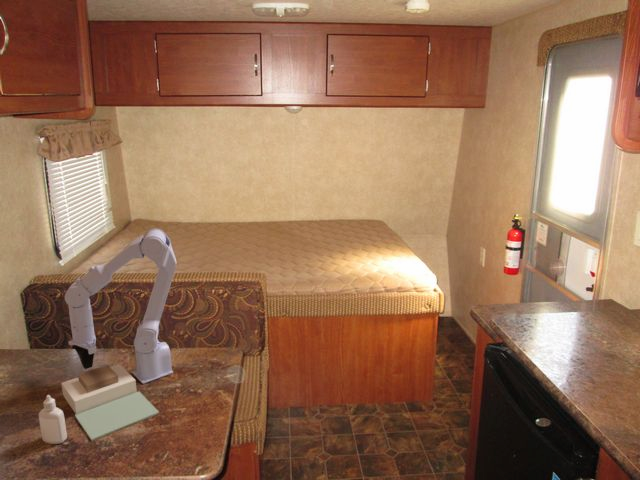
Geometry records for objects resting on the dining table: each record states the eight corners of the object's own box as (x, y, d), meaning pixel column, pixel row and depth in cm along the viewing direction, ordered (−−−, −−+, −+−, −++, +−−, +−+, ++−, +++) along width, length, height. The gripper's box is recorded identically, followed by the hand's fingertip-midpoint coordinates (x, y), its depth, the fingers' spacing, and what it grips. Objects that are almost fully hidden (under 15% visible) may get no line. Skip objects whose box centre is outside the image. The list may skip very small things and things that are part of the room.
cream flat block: (120, 375, 151) (119, 363, 149) (136, 392, 142) (135, 380, 141) (63, 395, 140) (61, 382, 139) (76, 415, 132) (74, 401, 131)
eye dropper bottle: (50, 449, 119) (43, 404, 116) (40, 439, 122) (33, 395, 119) (69, 440, 122) (62, 396, 119) (59, 430, 125) (52, 387, 122)
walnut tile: (108, 371, 145) (107, 364, 145) (118, 382, 140) (117, 375, 139) (78, 380, 140) (77, 374, 140) (88, 392, 135) (87, 386, 134)
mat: (139, 392, 142) (139, 391, 142) (159, 413, 132) (159, 411, 132) (75, 416, 131) (74, 415, 131) (91, 441, 122) (91, 439, 121)
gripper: (59, 319, 145) (65, 362, 149) (75, 336, 135) (81, 382, 139) (85, 313, 150) (90, 354, 154) (102, 329, 139) (107, 373, 143)
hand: (87, 367), depth 146 cm, fingers closed
